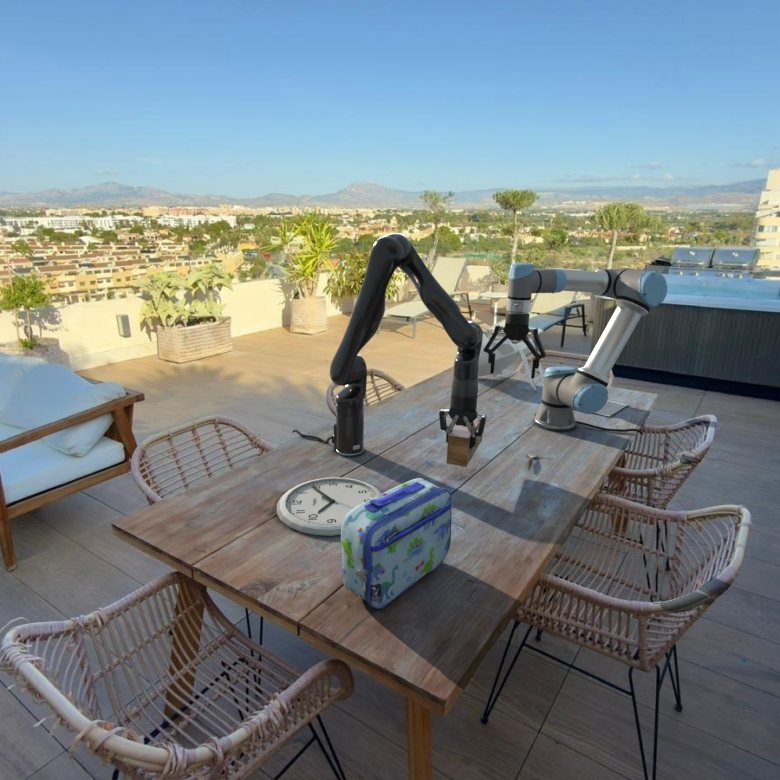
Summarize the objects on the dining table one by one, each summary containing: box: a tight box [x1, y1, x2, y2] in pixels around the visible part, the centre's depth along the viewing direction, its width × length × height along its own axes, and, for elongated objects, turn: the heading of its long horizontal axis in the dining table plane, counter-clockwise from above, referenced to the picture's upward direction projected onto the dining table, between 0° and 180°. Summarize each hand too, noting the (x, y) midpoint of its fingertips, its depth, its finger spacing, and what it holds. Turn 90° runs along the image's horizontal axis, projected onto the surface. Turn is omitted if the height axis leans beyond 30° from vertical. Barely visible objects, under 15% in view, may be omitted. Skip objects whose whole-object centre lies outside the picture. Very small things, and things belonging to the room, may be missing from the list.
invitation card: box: [593, 399, 629, 418], centre depth 226 cm, size 21×1×15 cm
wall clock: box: [276, 476, 383, 537], centre depth 142 cm, size 30×2×30 cm
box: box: [446, 412, 485, 468], centre depth 161 cm, size 22×6×9 cm, turn 158°
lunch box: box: [340, 477, 452, 610], centre depth 110 cm, size 26×11×21 cm, turn 134°
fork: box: [527, 446, 538, 471], centre depth 171 cm, size 3×16×2 cm, turn 160°
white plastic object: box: [478, 333, 545, 391], centre depth 258 cm, size 37×45×31 cm
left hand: (460, 445), depth 155 cm, fingers closed on box, 6 cm apart
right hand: (512, 375), depth 176 cm, fingers open, 13 cm apart
